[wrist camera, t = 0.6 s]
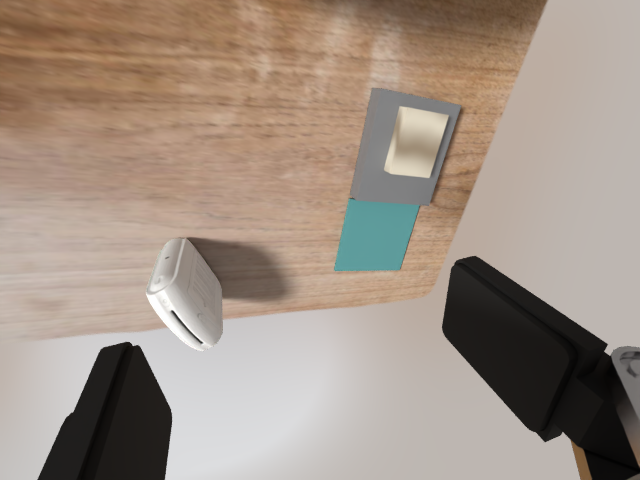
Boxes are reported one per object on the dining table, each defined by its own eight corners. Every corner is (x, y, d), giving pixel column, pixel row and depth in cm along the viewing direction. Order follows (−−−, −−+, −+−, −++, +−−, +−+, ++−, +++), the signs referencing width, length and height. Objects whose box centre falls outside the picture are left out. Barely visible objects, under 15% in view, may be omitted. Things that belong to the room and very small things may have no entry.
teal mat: (349, 198, 45) (350, 199, 44) (418, 203, 49) (420, 204, 48) (334, 269, 50) (334, 270, 49) (398, 268, 54) (399, 270, 53)
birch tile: (399, 106, 38) (408, 107, 37) (439, 113, 40) (449, 115, 39) (383, 170, 42) (390, 173, 40) (421, 174, 44) (429, 178, 42)
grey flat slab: (372, 88, 39) (381, 88, 37) (449, 104, 43) (461, 105, 41) (349, 194, 45) (356, 200, 42) (419, 200, 48) (428, 205, 46)
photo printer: (154, 245, 40) (132, 305, 29) (185, 231, 40) (175, 284, 29) (199, 300, 45) (194, 367, 34) (226, 286, 45) (229, 349, 35)
